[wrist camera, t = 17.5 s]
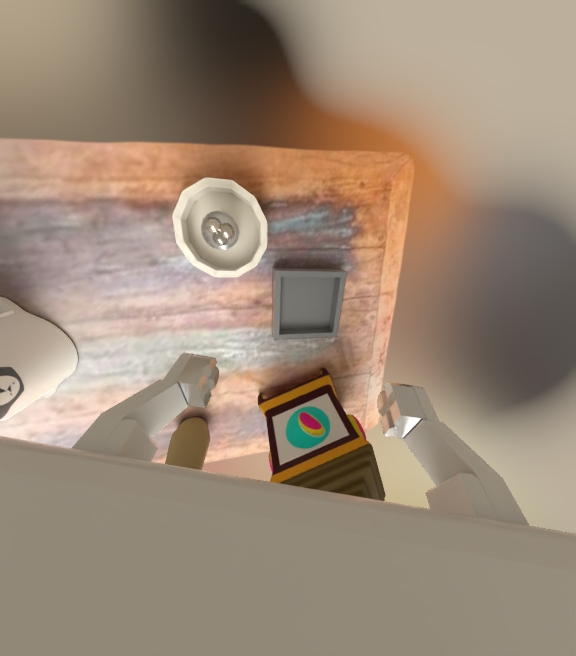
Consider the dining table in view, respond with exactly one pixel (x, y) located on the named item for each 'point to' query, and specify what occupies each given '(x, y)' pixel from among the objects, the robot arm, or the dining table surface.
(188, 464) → the squeeze bottle
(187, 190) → the bowl
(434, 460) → the robot arm
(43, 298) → the dining table surface
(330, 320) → the tray
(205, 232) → the pebble cup
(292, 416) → the decorative lantern
